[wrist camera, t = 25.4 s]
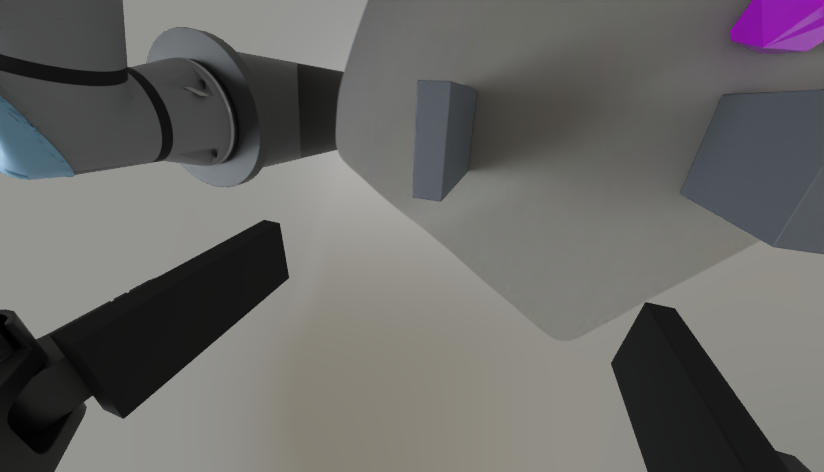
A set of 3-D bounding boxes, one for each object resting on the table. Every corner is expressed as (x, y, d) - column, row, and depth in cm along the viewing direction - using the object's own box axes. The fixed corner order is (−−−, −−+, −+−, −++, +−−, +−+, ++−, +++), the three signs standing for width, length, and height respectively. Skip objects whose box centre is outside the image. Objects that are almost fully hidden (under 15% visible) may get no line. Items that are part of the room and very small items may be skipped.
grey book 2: (711, 197, 29) (828, 255, 18) (679, 193, 30) (772, 247, 18) (760, 95, 25) (947, 88, 14) (722, 94, 26) (871, 86, 15)
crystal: (798, 56, 24) (854, 46, 20) (714, 58, 25) (749, 50, 21) (837, -26, 22) (908, -56, 18) (743, -18, 23) (788, -43, 19)
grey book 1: (467, 171, 36) (441, 201, 25) (446, 169, 37) (412, 197, 25) (477, 89, 32) (451, 80, 21) (454, 88, 33) (417, 80, 22)
